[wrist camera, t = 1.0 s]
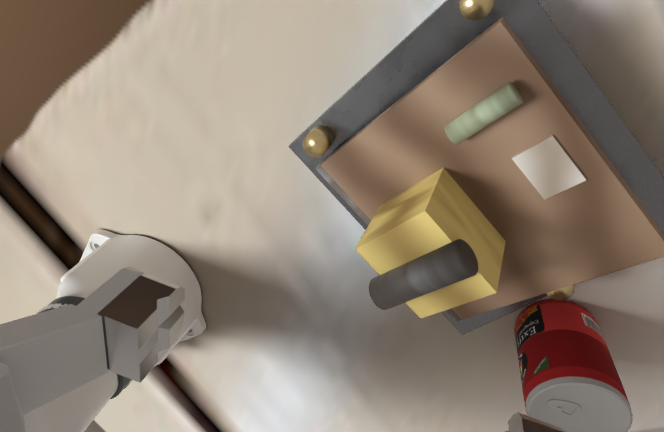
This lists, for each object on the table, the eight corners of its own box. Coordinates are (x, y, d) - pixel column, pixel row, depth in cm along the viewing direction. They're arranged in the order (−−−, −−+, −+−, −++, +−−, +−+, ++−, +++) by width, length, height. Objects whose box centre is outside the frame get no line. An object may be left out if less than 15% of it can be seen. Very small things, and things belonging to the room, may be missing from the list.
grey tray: (462, 315, 48) (462, 348, 44) (298, 136, 43) (280, 153, 39) (681, 208, 37) (710, 238, 33) (498, -48, 32) (503, -51, 28)
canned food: (519, 291, 45) (535, 375, 36) (607, 302, 43) (647, 393, 34) (507, 347, 49) (518, 436, 39) (587, 359, 47) (619, 456, 37)
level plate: (455, 310, 44) (434, 393, 37) (320, 162, 40) (267, 223, 33) (668, 239, 32) (697, 343, 25) (503, 16, 28) (481, 63, 21)
